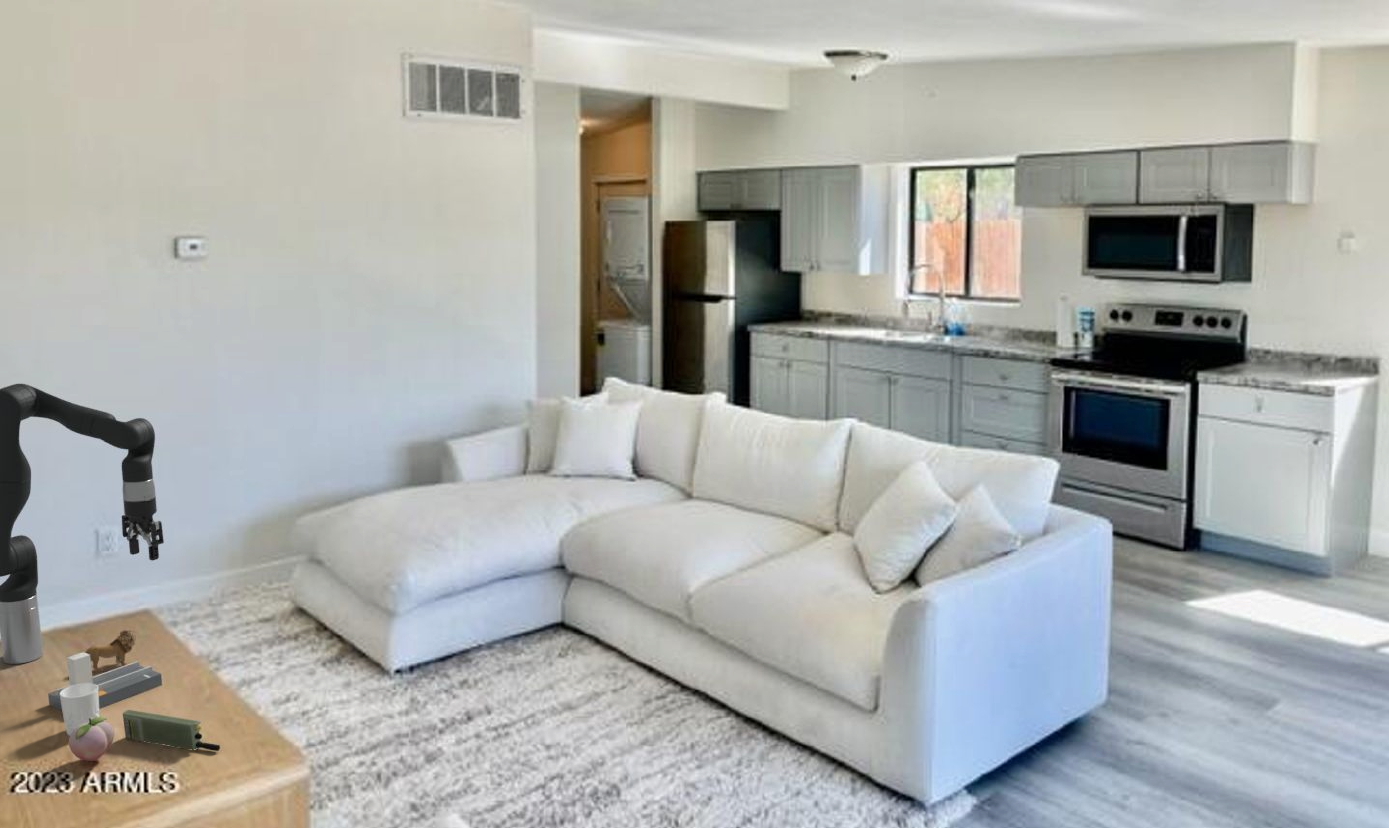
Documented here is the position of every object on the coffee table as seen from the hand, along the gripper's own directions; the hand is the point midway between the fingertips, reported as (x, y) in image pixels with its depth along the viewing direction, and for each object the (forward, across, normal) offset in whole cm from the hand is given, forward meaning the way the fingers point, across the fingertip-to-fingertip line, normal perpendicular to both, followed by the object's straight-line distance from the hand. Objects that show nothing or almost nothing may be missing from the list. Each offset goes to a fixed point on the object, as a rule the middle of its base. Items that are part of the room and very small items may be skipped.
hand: (144, 556), depth 295 cm
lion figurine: (+30, -9, -7) cm, 32 cm away
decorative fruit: (+30, +37, -38) cm, 61 cm away
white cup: (+30, +21, -31) cm, 48 cm away
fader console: (+30, +7, -17) cm, 35 cm away
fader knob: (+27, +7, -23) cm, 36 cm away
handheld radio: (+30, +45, -24) cm, 59 cm away
